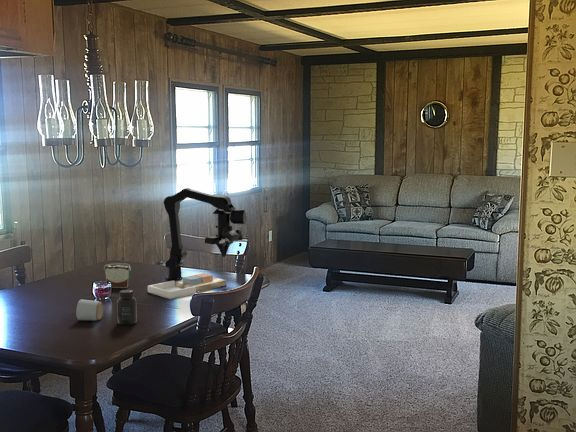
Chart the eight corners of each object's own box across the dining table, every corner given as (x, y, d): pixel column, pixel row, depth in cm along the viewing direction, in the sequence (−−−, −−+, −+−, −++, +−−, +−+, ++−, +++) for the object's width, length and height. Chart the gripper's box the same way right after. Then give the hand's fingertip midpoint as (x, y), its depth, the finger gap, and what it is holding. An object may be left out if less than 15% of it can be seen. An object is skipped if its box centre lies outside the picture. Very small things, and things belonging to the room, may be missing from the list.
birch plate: (175, 287, 289) (175, 281, 289) (206, 280, 302) (206, 275, 302) (195, 292, 280) (194, 287, 280) (226, 285, 293) (226, 280, 293)
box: (147, 292, 280) (147, 285, 279) (173, 287, 290) (173, 280, 289) (169, 299, 269) (169, 292, 269) (195, 293, 279) (195, 286, 279)
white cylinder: (98, 323, 236) (97, 302, 235) (76, 322, 236) (75, 302, 235) (106, 315, 246) (106, 295, 245) (85, 315, 246) (85, 295, 245)
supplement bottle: (140, 321, 237) (140, 290, 236) (129, 326, 231) (128, 294, 230) (125, 319, 240) (125, 288, 239) (113, 324, 234) (112, 292, 233)
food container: (135, 284, 294) (134, 263, 292) (130, 288, 288) (130, 266, 286) (109, 284, 295) (108, 262, 294) (104, 287, 289) (103, 265, 288)
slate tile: (182, 282, 287) (182, 277, 287) (193, 280, 291) (193, 275, 291) (191, 285, 283) (190, 279, 283) (201, 282, 287) (201, 277, 287)
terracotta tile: (194, 280, 292) (194, 275, 291) (204, 278, 296) (204, 273, 296) (202, 282, 288) (202, 277, 287) (212, 280, 292) (212, 275, 292)
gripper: (219, 227, 285) (220, 262, 287) (250, 223, 299) (250, 256, 301) (203, 225, 293) (204, 258, 295) (234, 221, 306) (234, 253, 309)
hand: (224, 256), depth 300 cm, fingers closed
